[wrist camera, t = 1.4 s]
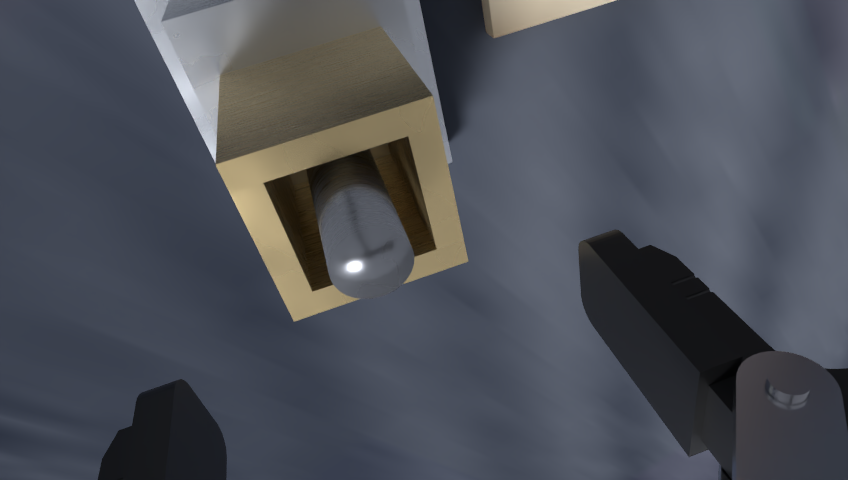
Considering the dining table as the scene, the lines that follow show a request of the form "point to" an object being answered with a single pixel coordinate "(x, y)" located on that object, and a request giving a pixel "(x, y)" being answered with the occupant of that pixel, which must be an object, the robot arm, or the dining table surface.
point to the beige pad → (529, 13)
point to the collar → (333, 156)
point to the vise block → (329, 182)
